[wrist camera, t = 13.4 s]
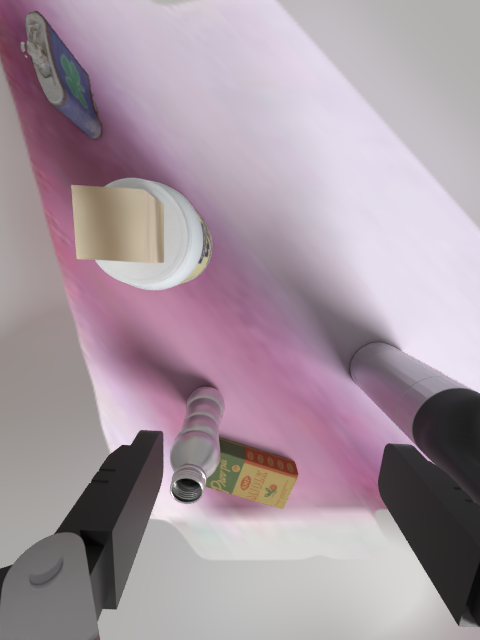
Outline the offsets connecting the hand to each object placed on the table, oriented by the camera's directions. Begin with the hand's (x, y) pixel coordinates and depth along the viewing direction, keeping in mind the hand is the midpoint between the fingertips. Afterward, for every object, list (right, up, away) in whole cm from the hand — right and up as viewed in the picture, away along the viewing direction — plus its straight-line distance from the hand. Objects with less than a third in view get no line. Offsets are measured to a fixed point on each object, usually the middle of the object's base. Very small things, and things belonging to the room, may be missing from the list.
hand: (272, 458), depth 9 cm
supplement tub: (-12, +17, +33) cm, 39 cm away
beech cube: (-12, +14, +17) cm, 24 cm away
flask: (-24, +36, +29) cm, 52 cm away
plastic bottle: (-7, -9, +39) cm, 41 cm away
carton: (+1, -24, +43) cm, 49 cm away
